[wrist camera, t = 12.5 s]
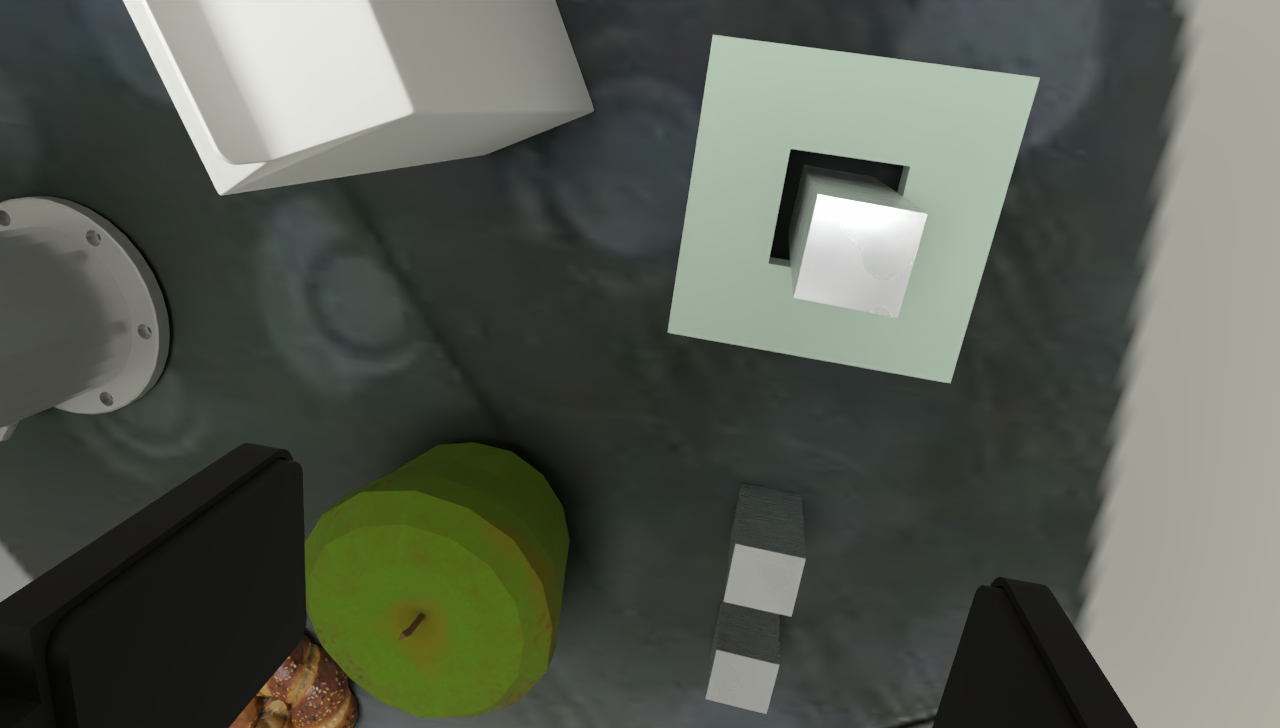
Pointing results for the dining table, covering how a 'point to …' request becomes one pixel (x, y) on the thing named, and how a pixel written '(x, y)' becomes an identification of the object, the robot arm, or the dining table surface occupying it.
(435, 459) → the apple
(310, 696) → the pretzel
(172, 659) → the robot arm
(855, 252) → the long pin
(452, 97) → the milk
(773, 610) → the medium pin
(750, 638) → the short pin
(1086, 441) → the dining table surface
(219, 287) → the dining table surface
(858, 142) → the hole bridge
